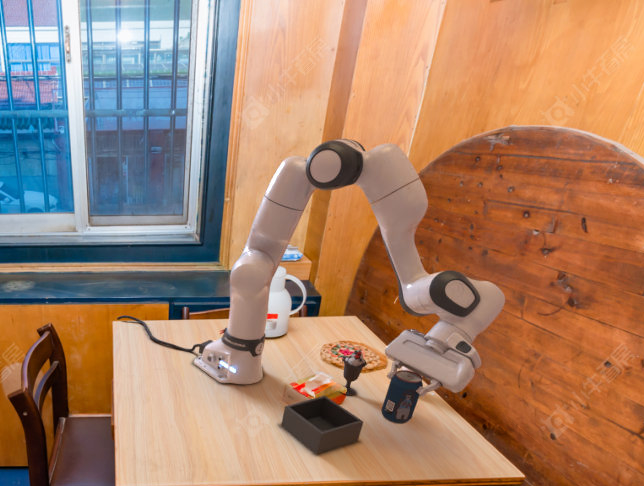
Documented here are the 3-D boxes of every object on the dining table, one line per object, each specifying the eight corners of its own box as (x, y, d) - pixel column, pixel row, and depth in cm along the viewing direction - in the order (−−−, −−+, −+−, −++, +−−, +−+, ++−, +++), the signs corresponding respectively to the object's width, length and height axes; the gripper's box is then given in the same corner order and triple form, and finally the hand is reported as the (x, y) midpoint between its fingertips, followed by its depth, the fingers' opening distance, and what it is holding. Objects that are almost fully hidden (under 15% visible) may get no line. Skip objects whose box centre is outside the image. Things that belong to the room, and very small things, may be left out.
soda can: (393, 407, 131) (407, 366, 125) (416, 421, 126) (432, 379, 120) (373, 413, 129) (386, 372, 123) (396, 428, 123) (410, 385, 117)
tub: (280, 425, 136) (284, 406, 133) (320, 414, 141) (324, 395, 138) (316, 454, 125) (321, 434, 122) (357, 441, 130) (363, 421, 127)
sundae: (347, 399, 148) (360, 353, 141) (330, 388, 154) (341, 343, 146) (363, 394, 151) (376, 348, 143) (345, 383, 156) (357, 339, 149)
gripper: (404, 319, 127) (365, 361, 128) (483, 353, 111) (437, 401, 113) (411, 333, 131) (374, 373, 132) (488, 367, 115) (444, 413, 116)
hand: (404, 386), depth 122 cm, fingers closed on soda can, 7 cm apart
